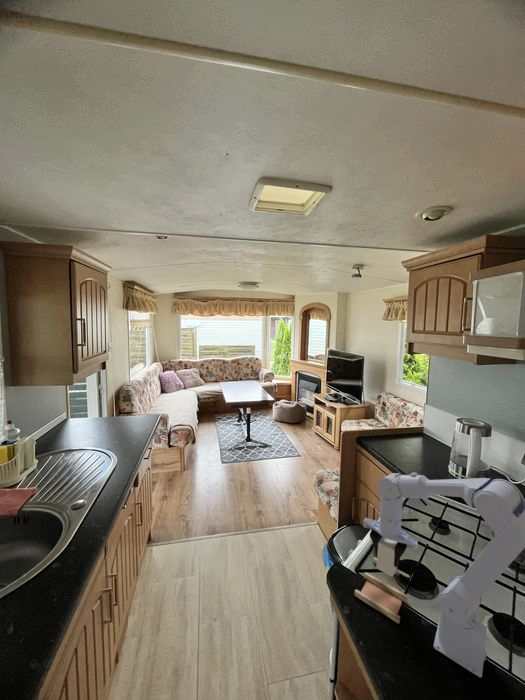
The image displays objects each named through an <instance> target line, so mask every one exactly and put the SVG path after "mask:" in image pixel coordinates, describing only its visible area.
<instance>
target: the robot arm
mask: <svg viewBox="0 0 525 700" xmlns="http://www.w3.org/2000/svg"><path fill="white" fill-rule="evenodd" d="M490 480H491V478H489V477H488V478H487V477H479V478H478V477H475V478H449V479H448V478H447V479H445V478H444V479H429V478H427V476H425V475H424V474H423V475H422V474H418V472H411V473H410V474H401V473H399V472H397V473H396V472H393V473H390V474H389V475H385V476H384V477H382V478H380V479H379V480H378V482H377V488H378V490H379V491H378V492H379V493H380V507H379V508H380V509H379V520H375V519H370V518H368V517H365V518H364V520H363V525H362V526H363V528H365V529H368V528H369V529H370V532H369V538H370V540H371V542H372V544H373V547H374V548H375V552H376V557H377V553H378V542H379V541H380V539H381V537H382V536H383V537H384V538H386V539H389V540H392V541H396V542H397V544H396V546H395V561H394V566H395V567H397V568H398V565H399V564H400V560H401V558H402V555H404V553H405V552H406V550H407V548H408V547H409V548H411V550H412V551H414V552H417V549H418V546H419V545H418V544H419V543H418V540H416V539H414V538H413V537H411V535H408V534H407V533H405V532H404V531H403V530H402V517H403V505H404V499H418V500H419V499H422V500H427V499H430V497H431V496H432V495H435V496H444V497H454V498H455V497H456V498H462V499H463V500H464V501H465V503H466V504H467V505H468V507H469V508H472V509H473V508H475V510H476V511H477V512H478V514H479V515H480V516H481V518H482V519H483V520H484V522H485V523H486V524H487V526H488V527H489V528H490V530H491V531H492V532H493V533H494V535H493V538H491V540H490V541H489V542H488V543H487V545H486V546H485V547H484V548H483V550H482V551H481V552H480V553H479V554H478V556H477V557H476V558H475V559H474V560H473V562H471V564H470V566H469V567H468V568H467V569H466V570H465V571H464V573H463V574H462V575H458V576H455V577H454V578H453V579H452V581H451V582H450V584H448V586H447V587H446V588H445V589H444V590H443V591H442V592H441V593H438V596H437V599H436V601H437V606H438V608H439V610H440V612H439V621H438V623H437V630H436V632H435V637H434V640H433V641H434V642H433V648H434V649H435V651H438V652H439V653H441V654H442V655H444V656H446V657H447V658H448V659H450V660H452V661H453V662H455V663H456V664H458V665H460V666H461V667H463V668H464V669H466V670H467V671H469V672H470V673H472V674H474V675H475V676H477V677H479V678H483V672H484V671H483V670H484V663H485V662H486V658H487V651H486V645H487V644H486V641H487V630H488V626H487V625H486V624H485V623H483V622H482V621H480V620H479V619H478V618H477V613H476V610H477V608H478V607H479V606H481V605H482V602H483V595H484V594H485V593H486V592H487V591H488V590H489V588H490V587H491V586H492V585H493V584H494V583H495V582H496V581H497V580H498V579H499V577H500V576H501V575H502V574H503V573H504V572H505V571H506V569H507V568H508V567H509V566H510V565H511V564H512V563H513V561H514V560H516V559H517V557H518V556H519V555H520V554H521V553H522V552H523V550H524V549H525V498H524V496H523V494H522V492H521V491H520V489H519V488H518V487H517V486H516V485H515V484H514V483H512V482H511V481H508V480H506V479H503V478H496V479H492V480H491V481H490ZM376 557H375V558H376Z"/></svg>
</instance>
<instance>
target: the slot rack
mask: <svg viewBox="0 0 525 700" xmlns="http://www.w3.org/2000/svg"><path fill="white" fill-rule="evenodd" d="M372 559H373V561H372V563H373V564H375V565H376V566H377V558H376V557H375V556H373V558H372ZM398 573H399V574H402V575H403V576H405V577H407V578H410V576H411V575H410V574H407V573H406V572H404V571H402V570H400V569H398V568H397V569H396V571H395V573H394V575H395V576H397V575H396V574H398ZM409 575H410V576H409ZM363 578H364V579H365V580H366V581H365V583H364V586H363V587H362V589H361V591H360V590H358V589H355V590H354V596H353V597H356V598H358V599H359V600H360V601H362V602H364V603H365V604H367V605H368V606H370V607H372V608H373V609H375V610H376V611H378V612H379V613H381V614H383V615H384V616H386V617H388V618H389V619H391V621H393V622H395V623H397V624H398V625H399V624H400V621H401V616H400V615H398V614H399V612H400V609H401V606H402V603H403V602H405V603H407V602H408V598H409V596H408V594H406V593H403V592H402V591H400V590H398V589H397V588H395V587H393V586H392V585H389V584H388V583H386V582H385V581H382V580H381V579H379V578H377V577H376V576H374V575H372V574H370V573H368V572H366V571H365V572H364V577H363Z"/></svg>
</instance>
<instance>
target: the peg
mask: <svg viewBox="0 0 525 700" xmlns="http://www.w3.org/2000/svg"><path fill="white" fill-rule="evenodd" d="M396 544H397V542H396V541H392V540H389V539H386V538H384V537H383V536H382V537H381V539H380V541H379V542H378V553H377V565H376V569H377V570H379V571H381V572H382V573H385V574H386V575H388V576H389V577H392V578H393V577H394V575H395V574H394V573H395V571H396V569H398V566H397V567H395V566H394V561H395V546H396Z"/></svg>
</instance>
